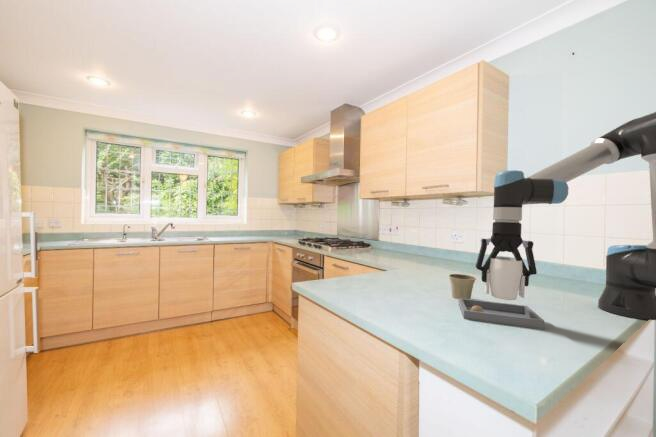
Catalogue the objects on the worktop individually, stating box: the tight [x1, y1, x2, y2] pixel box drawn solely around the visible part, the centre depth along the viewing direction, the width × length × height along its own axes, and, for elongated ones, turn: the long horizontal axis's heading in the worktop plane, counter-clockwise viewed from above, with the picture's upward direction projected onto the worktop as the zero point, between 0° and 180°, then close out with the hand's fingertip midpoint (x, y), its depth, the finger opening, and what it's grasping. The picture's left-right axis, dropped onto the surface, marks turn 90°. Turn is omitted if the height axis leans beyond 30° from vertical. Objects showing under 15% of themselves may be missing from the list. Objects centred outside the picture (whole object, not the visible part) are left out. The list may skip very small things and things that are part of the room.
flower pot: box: [448, 273, 477, 300], centre depth 106 cm, size 9×9×9 cm
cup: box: [488, 256, 523, 301], centre depth 87 cm, size 9×9×12 cm
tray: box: [458, 298, 545, 330], centre depth 87 cm, size 20×14×3 cm
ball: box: [471, 305, 484, 312], centre depth 85 cm, size 4×4×4 cm
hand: (503, 294), depth 87 cm, fingers closed on cup, 9 cm apart
